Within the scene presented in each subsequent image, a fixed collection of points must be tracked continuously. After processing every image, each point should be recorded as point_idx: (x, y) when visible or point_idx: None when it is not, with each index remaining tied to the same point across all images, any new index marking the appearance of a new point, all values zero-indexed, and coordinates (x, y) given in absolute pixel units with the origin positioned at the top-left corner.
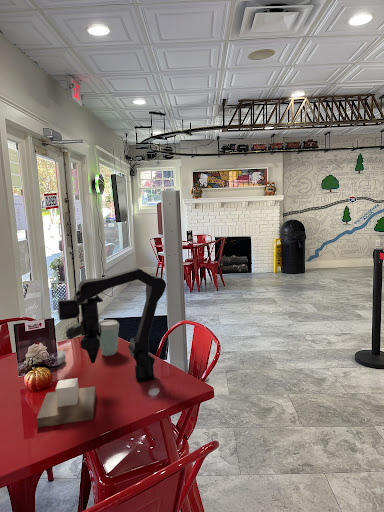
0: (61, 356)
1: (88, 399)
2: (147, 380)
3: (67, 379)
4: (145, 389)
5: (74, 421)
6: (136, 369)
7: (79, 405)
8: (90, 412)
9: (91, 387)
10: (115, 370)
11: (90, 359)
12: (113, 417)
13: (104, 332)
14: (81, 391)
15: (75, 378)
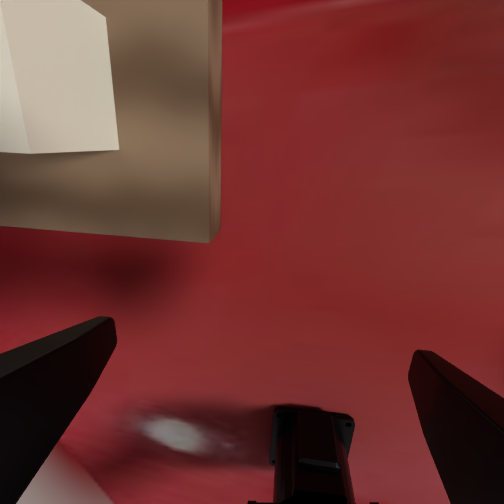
0: None
1: (62, 205)
2: (271, 439)
3: (7, 49)
4: (202, 415)
5: None
6: (297, 457)
7: (5, 158)
8: None
9: (198, 222)
10: (476, 341)
11: (47, 339)
12: (16, 287)
13: None
14: (163, 162)
15: (21, 134)
